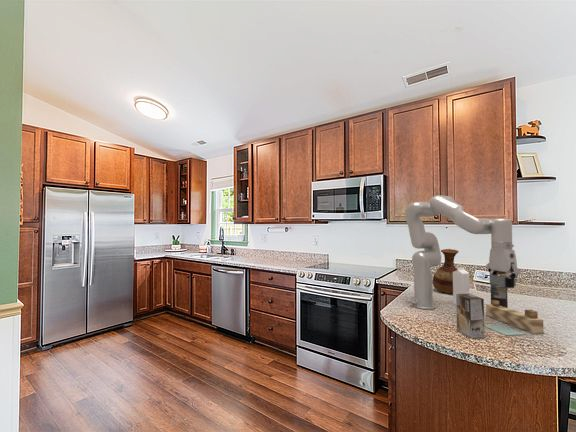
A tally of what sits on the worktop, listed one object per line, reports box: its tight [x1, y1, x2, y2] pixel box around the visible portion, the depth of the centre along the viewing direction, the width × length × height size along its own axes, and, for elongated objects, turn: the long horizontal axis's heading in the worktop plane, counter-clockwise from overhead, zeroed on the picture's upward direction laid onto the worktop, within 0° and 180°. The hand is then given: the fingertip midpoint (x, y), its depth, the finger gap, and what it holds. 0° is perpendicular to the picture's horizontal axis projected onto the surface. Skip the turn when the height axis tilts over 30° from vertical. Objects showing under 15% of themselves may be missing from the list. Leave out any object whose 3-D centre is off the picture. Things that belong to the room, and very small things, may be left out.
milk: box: [452, 266, 470, 306], centre depth 164 cm, size 6×6×22 cm
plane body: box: [485, 300, 545, 335], centre depth 132 cm, size 24×5×9 cm, turn 8°
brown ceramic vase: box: [432, 248, 459, 295], centre depth 196 cm, size 20×20×30 cm
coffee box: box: [455, 294, 486, 339], centre depth 120 cm, size 9×6×16 cm
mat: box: [484, 323, 526, 337], centre depth 124 cm, size 9×12×1 cm
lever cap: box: [489, 273, 517, 287], centre depth 125 cm, size 6×7×4 cm
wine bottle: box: [490, 271, 509, 308], centre depth 148 cm, size 7×7×30 cm
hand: (502, 285), depth 125 cm, fingers closed on lever cap, 7 cm apart
